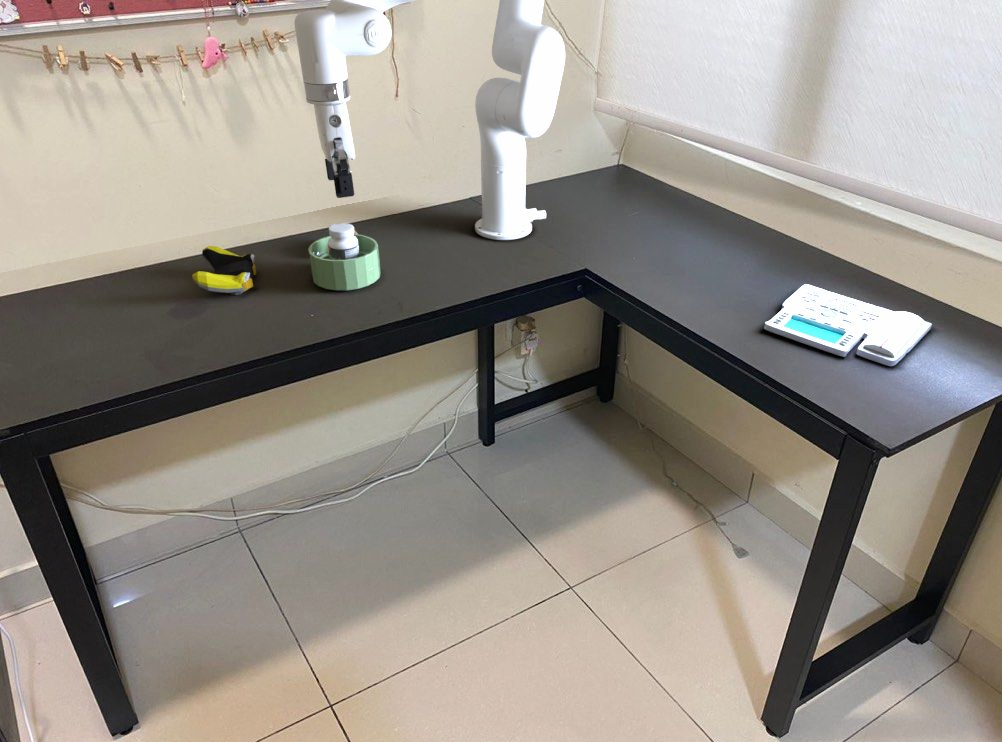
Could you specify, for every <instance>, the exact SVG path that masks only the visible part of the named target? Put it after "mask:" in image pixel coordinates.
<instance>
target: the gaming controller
mask: <svg viewBox="0 0 1002 742" xmlns="http://www.w3.org/2000/svg"><path fill="white" fill-rule="evenodd" d="M201 255H202V258H203V259H204V261H206V263H207V264H208V265H209V266H210V267H211V269H212V270H213V271H214V272H213V273H211V272H208V271H200V270H198V271H196V272H194V273H192V277H191V278H192V282H193V283H194V284H195V285H196V286H197V287H199V288H201V289H202V290H203V291H206V292H209V293H211V294H230V295H231V296H239V295H242V293H243V294H244V292H246V291H248V290H250V289H251V288H253V287H254V278H255V276H256V275H257V270H256V265H255V264H254V262H255V254H251V253H245V254H244V255H238V254H236V253H233V252H232V251H229V250H227V249H224V248H222V247H220V246H215V245H208V246H206V247H205V248H203V249H202V252H201Z"/></svg>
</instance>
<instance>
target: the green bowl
mask: <svg viewBox="0 0 1002 742" xmlns="http://www.w3.org/2000/svg"><path fill="white" fill-rule="evenodd" d="M354 236H355V237H356V238H357V240H358V246H359V255H360V257H358V258H354V259H347V260H330V256H329V248H328V240H329V239H330V238H331V236H330V235H327V236H324V237H322V238H319V239H316V240H315V241H314V242H312V243H311V244H310V245H309V247H308V250H307V251H308V258H309V264H310V270H311V271H310V272H311V277H312V281H313V283H314V284H315V285H316V286H317V287H320V288H322V289H325V290H331V291H352V290H358V289H362V288H365V287H368V286H370V285H371V284H374V283H375V282H377V281H378V280H379V279H380V277H381V262H380V251H379V244H378V242H377V240H375V239H374V238H372V237H371V236H367V235H364V234H358V233H357V234H354Z"/></svg>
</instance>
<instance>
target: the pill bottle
mask: <svg viewBox="0 0 1002 742" xmlns="http://www.w3.org/2000/svg"><path fill="white" fill-rule="evenodd" d="M354 231H355V226H354V225H353V224H352V223H348V222H339V223H334V224H331V225H330V226H328V236H331V238H330V239H329V240H328V248H329V256H330V260H347V259H354V258H358V257H360V255H359V246H358V240H357V238H356V237H355V236H354Z"/></svg>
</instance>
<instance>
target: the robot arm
mask: <svg viewBox="0 0 1002 742" xmlns="http://www.w3.org/2000/svg"><path fill="white" fill-rule="evenodd" d="M416 1H417V0H330V1H329V2H328V4H327V5H326V7H325V8H324V9H312V10H305V11H302V12H299V13H298V14H297V15H296V16H295V18H294V31H295V36H296V37H295V38H296V44H297V49H298V56H299V62H300V68H301V76H302V81H303V89H304V93H305V94H304V95H305V101H306V103H308V104H310V105H313V108H314V109H313V110H314V115H315V121H316V122H315V123H316V128H317V133H318V138H319V143H320V146H321V151H322V153H323V154H324V156H325V158H324V162H325V169H326V170H325V171H326V177H327V179H328V181H333V185H334V191H335V197H336V198H338V199H342V198H350V197H354V196H355V188H354V182H353V174H352V170H351V166H350V162H349V160H351V161H354V160H355V159H356V152H355V146H354V142H353V141H354V140H353V134H352V128H351V122H350V117H349V112H348V111H349V110H348V108H347V107H348V106H347V103H346V102H348V101H350V99H351V92H350V85H349V77H348V67H347V59H346V57H350V56H351V57H353V56H355V57H357V56H358V57H367V56H368V57H370V56H374V55H378V54H380V53H382V52H383V51H384V50H386V49H387V47H388V46H389V44H390V42H391V39H392V34H393V33H392V26H391V23H390V20H389V19H388V18H387V17H386V15H385V14H384V12H386V11H387V10H390V9H391V8H394V7H397V6H399V5H403V4H406V3H412V2H416ZM544 3H545V0H499V4H498V10H497V15H496V20H495V21H496V22H495V27H494V31H493V32H494V33H493V38H492V45H491V57H492V60H493V63H495V65H496V66H497V67H498V68H499V69H502V70H504V71H506V72H509V73H511V74H512V73H513V74H516V75H519V76H520V81H517V80H515V79H510V78H507V77H492V78H490V79H488V80H486V81H485V82H483V83H482V84H481V86H480V87H479V88H478V90H477V92H476V95H475V103H474V106H475V116H476V120H477V126H478V131H479V141H480V176H481V178H480V180H481V182H480V184H481V185H480V186H481V218H480V219H478V220H477V221H476V222H475V224H474V230H475V232H476V234H478V235H479V236H481V237H483V238H485V239H490V240H495V241H512V240H513V241H514V240H518V239H522V238H524V237H526V236H529V234H531V232H532V231H533V224H532V223H533V221H534V220H538V221H540V220H546V219H547V212H546V210H545V209H543V210H537V208H536V207H534V208H527V207H526V188H527V187H526V184H527V183H526V182H527V181H526V180H527V179H526V178H527V176H526V175H527V144H526V139H536V138H538V137H541V136H542V135H544V133H545V132H546V131H547V130H548V129H549V127H550V125H551V123H552V121H553V117H554V115H555V110H556V107H557V102H558V97H559V93H560V88H561V82H562V78H563V74H564V68H565V62H566V48H565V43H564V41H563V38H562V36H561V35H560V33H559V32H558V31H557V30H556V29H554V28H553V27H551V26H549V25H546V24H542V17H543V10H544Z"/></svg>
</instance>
